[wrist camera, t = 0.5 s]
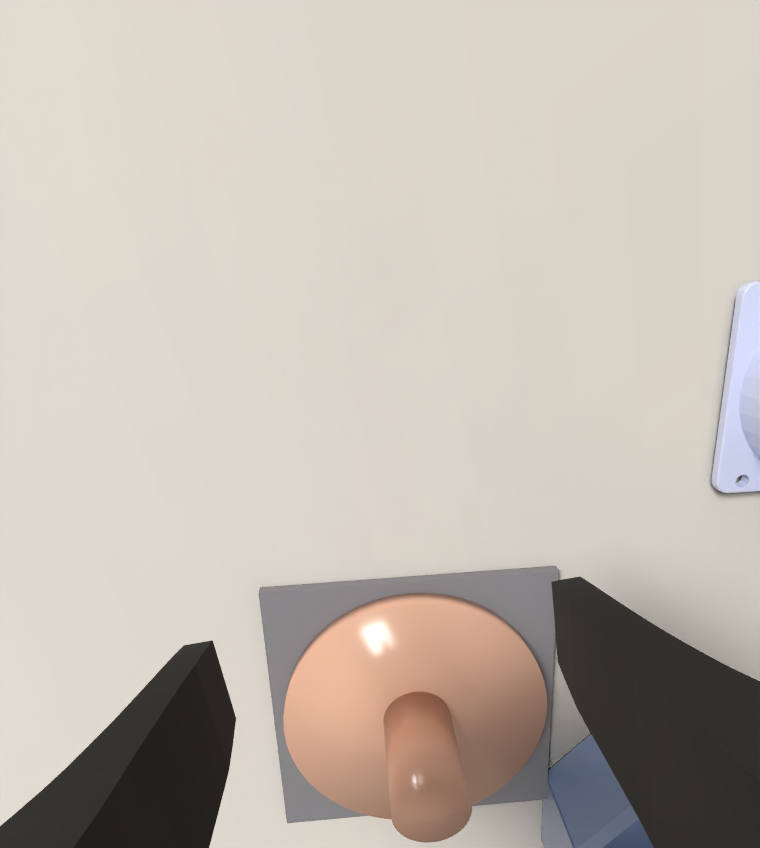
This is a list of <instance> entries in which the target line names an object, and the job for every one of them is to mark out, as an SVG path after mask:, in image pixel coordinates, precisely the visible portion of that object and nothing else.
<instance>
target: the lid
mask: <svg viewBox="0 0 760 848" xmlns="http://www.w3.org/2000/svg"><path fill="white" fill-rule="evenodd" d="M546 714H547V693H546V688H545V682H544V679H543V676H542V673H541V671H540V668H539V666H538V664H537V662H536V659H535V657H534V655H533V653H532V652H531V650H530V648H529V646H528V645H527V643H526V641H525V640H524V639H523V637H522V636H521V635H520V634H519V632H518V631H517V630H516V629H515V628H514V627H513V626H512V625H511V624H510V623H508V622H507V621H506V620H505V619H504V618H502V617H501V616H499V615H498V614H496V613H495V612H494V611H492V610H490V609H488V608H486V607H484V606H482V605H480V604H478V603H475V602H472V601H469V600H467V599H464V598H460V597H455V596H451V595H446V594H436V593H408V594H400V595H393V596H389V597H385V598H381V599H377V600H374V601H371V602H369V603H366V604H363V605H361V606H358V607H356V608H354V609H352V610H350V611H349V612H347V613H345V614H343V615H341V616H340V617H338V618H337V619H336V620H334V621H333V622H331V623H330V624H328V625H327V626H326V627H325V628H324V629H323V630H322V631H320V632H319V633H318V634H317V635H316V636H315V637H314V639H313V640H312V641H311V642H310V643H309V644H308V645H307V647H306V648H305V649H304V651H303V653H302V654H301V656H300V657H299V659H298V660H297V662H296V664H295V667H294V669H293V671H292V673H291V676H290V680H289V683H288V687H287V692H286V700H285V707H284V715H283V721H284V734H285V739H286V744H287V747H288V750H289V752H290V755H291V757H292V759H293V761H294V763H295V764H296V766H297V768H298V770H299V771H300V772H301V774H302V775H303V776H304V777H305V779H306V780H307V781H308V782H309V783H310V784H311V785H312V786H313V787H314V788H315V789H316V790H317V791H319V792H320V793H322V794H323V795H324V796H326V797H327V798H328V799H330V800H332V801H334V802H335V803H337V804H339V805H341V806H343V807H345V808H348V809H350V810H353V811H355V812H358V813H362V814H365V815H369V816H373V817H379V818H385V819H392V822H393V825H394V826H395V828H396V829H397V831H398V832H399V833H400V834H402V835H403V836H405V837H407V838H408V839H411V840H414V841H418V842H437V841H441V840H444V839H447V838H449V837H451V836H453V835H455V834H457V833H458V832H459V831H460V830H461V829H463V828H464V826H465V825H466V824H467V822H468V821H469V818H470V816H471V812H472V805H474V804H476V803H478V802H480V801H482V800H484V799H485V798H487V797H489V796H490V795H492V794H493V793H495V792H496V791H498V790H499V789H500V788H502V787H503V786H504V785H506V784H507V783H508V782H509V781H510V780H511V779H512V778H513V777H514V776H515V775H516V774H517V773H518V772H519V771H520V770H521V769H522V768H523V766H524V765H525V764H526V763H527V761H528V760H529V758H530V757H531V755H532V754H533V752H534V750H535V749H536V747H537V744H538V742H539V740H540V738H541V736H542V732H543V729H544V725H545V721H546Z"/></svg>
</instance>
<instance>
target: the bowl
mask: <svg viewBox="0 0 760 848" xmlns="http://www.w3.org/2000/svg"><path fill="white" fill-rule="evenodd" d="M541 839H542V842H543V845H544V848H654V847H653V845H652V843H651V841H650V839H649V837H648V836H647V834H646V832H645V830H644V828H643V826H642V824H641V822H640V820H639V818H638V816H637V815H636V813H635V811H634V809H633V807H632V806H631V804H630V802H629V800H628V799H627V797H626V795H625V793H624V791H623V790H622V788H621V786H620V784H619V782H618V781H617V779H616V777H615V775H614V774H613V772H612V770H611V768H610V766H609V765H608V763H607V761H606V759H605V758H604V756H603V754H602V752H601V750H600V749H599V747H598V745H597V743H596V742H595V740H594V738H593V736H592V734H591V735H589V736H588V737H587V738H586V739H585V740H583V741H582V742H581V743H580V744H579V745H578V746H576V747H575V748H574V749H573V750H572V751H570V752H569V753H568V754H567V755H566V756H565V757H563V758H562V759H561V760H560V761H559V762H557V763H556V764H555V765H554V766H553V767H552V768H550V769H549V770H548V782H547V799H543V813H542V832H541Z"/></svg>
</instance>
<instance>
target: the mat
mask: <svg viewBox="0 0 760 848" xmlns="http://www.w3.org/2000/svg"><path fill="white" fill-rule="evenodd" d="M558 574H559V571H558V570H557V568H556V567H555V566H548V567H534V568H520V569H507V570H493V571H480V572H466V573H452V574H439V575H425V576H411V577H398V578H384V579H370V580H357V581H343V582H330V583H316V584H302V585H289V586H275V587H261V588H260V590H259V600H260V608H261V616H262V624H263V632H264V640H265V648H266V656H267V664H268V672H269V680H270V688H271V696H272V705H273V713H274V721H275V729H276V737H277V745H278V753H279V761H280V769H281V777H282V785H283V793H284V801H285V809H286V818H287V823H294V822H305V821H316V820H326V819H337V818H348V817H359V816H369V815H365V814H362V813H358V812H355V811H353V810H350V809H348V808H345V807H343V806H341V805H339V804H337V803H335V802H334V801H332V800H330V799H328V798H327V797H326V796H324V795H323V794H322V793H320V792H319V791H317V790H316V789H315V788H314V787H313V786H312V785H311V784H310V783H309V782H308V781H307V780H306V779H305V777H304V776H303V775H302V774H301V772H300V771H299V770H298V768H297V766H296V764H295V763H294V761H293V759H292V757H291V755H290V752H289V750H288V747H287V744H286V739H285V734H284V721H283V715H284V707H285V700H286V692H287V687H288V683H289V680H290V676H291V673H292V671H293V669H294V667H295V664H296V662H297V660H298V659H299V657H300V656H301V654H302V653H303V651H304V649H305V648H306V647H307V645H308V644H309V643H310V642H311V641H312V640H313V639H314V637H315V636H316V635H317V634H318V633H319V632H320V631H322V630H323V629H324V628H325V627H326V626H327V625H328V624H330V623H331V622H333V621H334V620H336V619H337V618H338V617H340V616H341V615H343V614H345V613H347V612H349V611H350V610H352V609H354V608H356V607H358V606H361V605H363V604H366V603H369V602H371V601H374V600H377V599H381V598H385V597H389V596H393V595H400V594H408V593H436V594H446V595H451V596H455V597H460V598H464V599H467V600H469V601H472V602H475V603H478V604H480V605H482V606H484V607H486V608H488V609H490V610H492V611H494V612H495V613H496V614H498V615H499V616H501V617H502V618H504V619H505V620H506V621H507V622H508V623H510V624H511V625H512V626H513V627H514V628H515V629H516V630H517V631H518V632H519V634H520V635H521V636H522V637H523V639H524V640H525V641H526V643H527V645H528V646H529V648H530V650H531V652H532V653H533V655H534V657H535V659H536V662H537V664H538V666H539V668H540V671H541V673H542V676H543V679H544V682H545V688H546V693H547V714H546V721H545V725H544V729H543V732H542V736H541V738H540V740H539V742H538V744H537V747H536V749H535V750H534V752H533V754H532V755H531V757H530V758H529V760H528V761H527V763H526V764H525V765H524V766H523V768H522V769H521V770H520V771H519V772H518V773H517V774H516V775H515V776H514V777H513V778H512V779H511V780H510V781H509V782H508V783H507V784H506V785H504V786H503V787H502V788H500V789H499V790H498V791H496V792H495V793H493V794H492V795H490V796H489V797H487V798H485V799H484V800H482V801H480V802H478V803H476V804H474V805H472V806H477V805H488V804H499V803H509V802H520V801H531V800H542V799H547V782H548V763H549V744H550V725H551V706H552V687H553V668H554V649H555V619H554V608H553V596H552V584H551V582H552V581H558Z"/></svg>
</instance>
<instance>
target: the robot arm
mask: <svg viewBox="0 0 760 848" xmlns="http://www.w3.org/2000/svg"><path fill="white" fill-rule="evenodd" d="M740 475H742V478H741V480H740V481H739V482H738V483H736V480H737V478H738V477H739V476H740ZM712 485H713V487H714V488H716V489H717V490H719V491H721V492H722V493H739V492H754V491H760V281H753V282H748V283H746V284H744V285H743V286H741V288H740V289H739V290H738V293H737V296H736V302H735V309H734V317H733V324H732V331H731V339H730V346H729V354H728V361H727V369H726V376H725V383H724V391H723V398H722V406H721V413H720V420H719V428H718V435H717V443H716V450H715V457H714V465H713V472H712ZM551 584H552V596H553V608H554V619H555V631H556V643H557V655H558V663H559V666H560V668H561V671H562V673H563V675H564V678H565V680H566V683H567V685H568V688H569V690H570V692H571V695H572V697H573V699H574V702H575V704H576V706H577V709H578V711H579V712H580V714H581V716H582V718H583V720H584V722H585V723H586V725H587V727H588V729H589V731H590V732H591V734H592V736H593V738H594V740H595V742H596V743H597V745H598V747H599V749H600V750H601V752H602V754H603V756H604V758H605V759H606V761H607V763H608V765H609V766H610V768H611V770H612V772H613V774H614V775H615V777H616V779H617V781H618V782H619V784H620V786H621V788H622V790H623V791H624V793H625V795H626V797H627V799H628V800H629V802H630V804H631V806H632V807H633V809H634V811H635V813H636V815H637V816H638V818H639V820H640V822H641V824H642V826H643V828H644V830H645V832H646V834H647V836H648V837H649V839H650V841H651V843H652V845H653V847H654V848H760V681H758V680H755V679H753V678H751V677H749V676H747V675H745V674H743V673H741V672H738V671H736V670H734V669H732V668H730V667H728V666H726V665H724V664H722V663H720V662H719V661H717V660H715V659H713V658H711V657H709V656H707V655H706V654H704V653H702V652H700V651H698V650H697V649H695V648H693V647H691V646H689V645H687V644H686V643H684V642H682V641H680V640H679V639H677V638H675V637H674V636H672V635H670V634H669V633H667V632H665V631H663V630H662V629H660V628H659V627H657V626H655V625H654V624H652V623H650V622H649V621H647V620H646V619H644V618H642V617H641V616H639V615H638V614H636V613H635V612H633V611H632V610H630V609H628V608H627V607H625V606H624V605H622V604H621V603H619V602H618V601H616V600H615V599H613V598H612V597H610V596H609V595H607V594H606V593H604V592H603V591H601V590H600V589H598V588H597V587H595V586H594V585H592V584H591V583H589V582H588V581H586V580H585V579H583V578H581V577H575V578H570V579H564V580H558V581H552V582H551ZM235 722H236V717H235V714H234V710H233V707H232V704H231V700H230V697H229V694H228V690H227V687H226V684H225V680H224V677H223V674H222V670H221V667H220V664H219V660H218V657H217V654H216V650H215V647H214V644H213V641H207V642H201V643H196V644H190V645H184V646H183V647H182V648H181V649H180V650H179V651H178V652H177V653H176V654H175V655H174V656H173V657H172V658H171V659H170V660H169V661H168V662H167V664H166V665H165V666H164V667H163V668H162V669H161V670H160V671H159V672H158V673H157V674H156V676H155V677H154V678H153V679H152V680H151V681H150V682H149V683H148V684H147V685H146V686H145V688H144V689H143V690H142V691H141V692H140V693H139V694H138V695H137V696H136V697H135V698H134V699H133V700H132V702H131V703H130V704H129V705H128V706H127V707H126V708H125V709H124V710H123V711H122V712H121V713H120V714H119V716H118V717H117V718H116V719H115V720H114V721H113V722H112V723H111V724H110V725H109V726H108V727H107V728H106V729H105V730H104V731H103V732H102V733H101V734H100V735H99V736H98V737H97V738H96V739H95V740H94V741H93V742H92V743H91V744H90V745H89V746H88V747H87V748H86V749H85V750H84V751H83V752H82V753H81V754H80V755H79V756H78V757H77V758H76V759H75V760H74V761H73V762H72V763H71V764H70V765H69V766H68V767H67V768H66V769H65V770H64V771H63V772H61V773H60V774H59V775H58V776H57V777H56V778H55V779H54V780H53V781H52V782H51V783H50V784H48V785H47V786H46V787H45V788H44V789H43V790H42V791H41V792H40V793H38V794H37V795H36V796H35V797H34V798H33V799H32V800H30V801H29V802H28V803H27V804H26V805H25V806H24V807H22V808H21V809H20V810H19V811H18V812H17V813H15V814H14V815H13V816H12V817H11V818H10V819H8V820H7V821H6V822H5V823H4V824H2V825H1V826H0V848H209V845H210V841H211V838H212V834H213V830H214V826H215V823H216V819H217V815H218V811H219V807H220V803H221V799H222V795H223V792H224V788H225V784H226V780H227V776H228V771H229V766H230V759H231V753H232V746H233V738H234V730H235Z"/></svg>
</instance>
